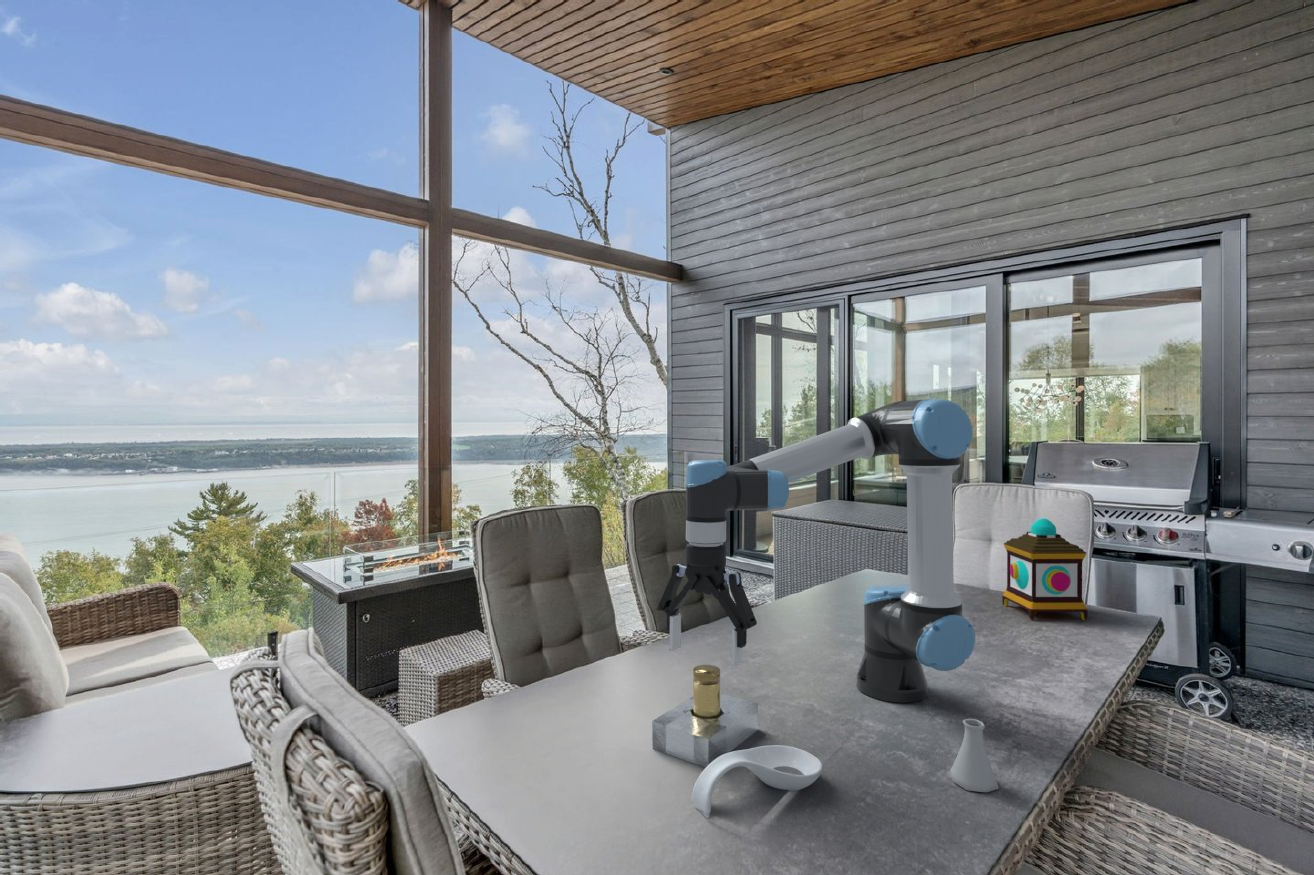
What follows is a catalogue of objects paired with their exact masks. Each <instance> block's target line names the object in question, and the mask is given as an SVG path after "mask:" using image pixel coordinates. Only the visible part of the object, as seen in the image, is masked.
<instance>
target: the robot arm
mask: <svg viewBox="0 0 1314 875" xmlns="http://www.w3.org/2000/svg"><path fill="white" fill-rule="evenodd" d="M973 431H974V430H973V425H972V421H971V419H970V416H969V415H968V413H967V412H966V411H965V410H964V409H963V408H962V407H961V406H960V405H959V404H958V403H956V402H954V401H952V400H949V399H944V398H943V399H942V398H940V399H939V398H933V397H932V398H926V399H916V400H900V401H899V400H898V401H896V402H892V403H891V402H890V403H888V404H884V405H882V406H880V407H877V408H875V409H873V410H870V411H868V412H865V413H863V414H860V415H857V416H856V417H852V418H850V419H849V420H848V421H847V424H846V425H844V426H840V427H837V428H834V429H832V430H829V431H826V432H824V433H821V434H818V435H815V436H812V437H809V438H806V439H804V440H801V441H798V442H795V443H791V444H789V445H787V446H783V447H780V448H778V449H776V450H773V451H768V452H766V453H763V454H760V455H758V456H755V457H752V458H750V459H747V460H744V461H740V462H738V463H735V464H732V465H730V464H727V462H726V461H725V460H721V459H720V460H719V459H697V460H696V459H695V460H692V461H690V462H689V463H688V464H687V467H686V476H685V493H686V494H685V495H686V496H685V498H686V499H685V501H686V502H685V503H686V511H685V512H686V514H685V515H686V518H685V541H687V542H688V543H686V545H685V562H686V566H685V564H684V563H681V562H680V563H678V564H674V565H672V567H671V576H670V578H669V581H668V583H667V585H666V587H665V589H664V592H663V594H662V597H661V598H660V600H659V602H658V605H657V608H658V610H659V611H663V612H664V613H665V615H666V630H667V632H669V651H673V652H674V651H676V650H678V649H681V648H682V647H681V646H682V614H681V613H678V612H680V609H681V608H682V607H683V606H684V604H685V603H686V602H687V600H688V599H689V598H690V597H691V596H692V595H693V593H694V592H695V593H697V594H701V593H703V594H704V595H709V596H710V595H712V596H713V597H714V598H715V599H716V600H717V601H718V603H719V604H720V606H721V608H722V609H723V610H724V612H725V614H726V615H727V617H728V618H729V621H731V623H732V624H733V626H734V628H733V629H731V640H730V642H731V646H730V647H731V648H730V649H731V651H730V652H731V653H730V654H731V656H730V657H731V662H730V666H731V667H737V666H739V665H740V664H743V648H745V647H746V646H747V636H748V634H747V632H748V631H747V630H749V629H750V628H753V627H755V626H756V625H758V624H757V623H758V622H757V618H756V616H755V614H754V612H753V609H752V606H751V604H750V602H749V599H748V597H747V594H746V592H745V589H744V586H743V584H742V575H741V573H740V572H739V571H736V572H733V573H732V572H730V573H728V572H727V571H726V564H727V546H726V544H725V542H726V541H727V512H728V511H768V512H769V511H771V510H780V509H784V507H785V506H786V504H788V500H789V496H790V486H789V484H790V483H792V482H796V481H799V480H800V479H803V478H806V477H809V476H811V475H814V474H817V473H820V472H822V471H825V470H828V469H831V468H834V467H837V466H839V465H841V464H845V463H847V462H850V461H853V460H855V459H859V458H861V459H863V460H869V459H872V458H874V457H878V456H879V457H880V456H884V455H888V456H889V455H898V458H897V459H898V466H899V468H900V469H901V470H903V471H904V472H905V474H906V509H907V510H906V511H907V512H906V514H907V516H906V517H907V519H906V520H907V522H906V523H907V527H906V528H907V576H908V577H907V579H908V580H907V583H908V586H906V585H881V586H872V587H870V588H867V590H866V591H865V593H864V598H863V606H864V608H863V612H864V614H863V615H864V617H863V618H864V619H863V620H864V622H863V623H864V628H863V629H864V632H863V633H864V635H863V636H864V639H863V640H864V649H863V650H864V652H863V655H862V658H861V661H860V664H859V667H858V670H857V672H856V687H857V690H858V691H859V692H861V693H863V694H864V695H866V696H868V697H872V698H874V699H878V700H880V701H887V702H893V703H914V702H918V701H922V700H924V699H926V698H927V696H928V693H929V692H928V691H929V688H928V687H929V686H928V680H927V678H926V677H927V676H926V675H925V672H924V668H923V666H925V667H929V668H931V669H933V670H935V671H936V670H937V671H940V672H947V671H952V670H956V669H958V668H959V667H961V666H962V665H964V664H965V662H966V660H968V659H969V658H970V657H971V655H972V654H973V652H974V649H975V646H976V638H977V637H976V633H975V632H976V631H975V628H974V626H973V625H972V624H971V622H970V621H969V620H968V619H967V618H966V617H964V616H963V600H962V598H961V597H960V596H959V595H957V593H956V592H955V589H954V588H955V587H954V584H955V582H954V576H955V575H954V525H953V523H954V522H953V521H954V520H953V515H954V513H953V511H954V510H953V474H954V472H956V471H957V469H959V468H960V467H961V456H962V455H964V454H965V452H967V450H968V447H970V446H971V444H972V440H973V436H974V435H973V434H974V432H973ZM684 576H686V579H687V580H688V581H687V582H686V583H685V585H684V586H683V588H682V589H681V591H680V592H679V593H678V594H677V596H676V593H677V592H678V589H679V587H680V584H681V582H682V581H683V578H684ZM725 582H726V584H727V585H728V586H729V589H728V587H727V586H726V584H725ZM729 590H730V593H731V595H732V596H731V595H730V593H729ZM675 596H676V597H675ZM732 597H733V598H732Z"/></svg>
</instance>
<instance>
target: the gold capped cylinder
mask: <svg viewBox="0 0 1314 875" xmlns="http://www.w3.org/2000/svg"><path fill="white" fill-rule="evenodd" d="M692 670H693V674H692V675H693V676H692V677H693V681H692V682H693V683H692V684H693V688H692V689H693V695H692V697H693V704H694V717H697V718H701V719H717V718H719V717H720V693H721V668H720V667H718V666H716V665H711V664H700V665H696V666H695V667H693V669H692Z"/></svg>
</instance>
